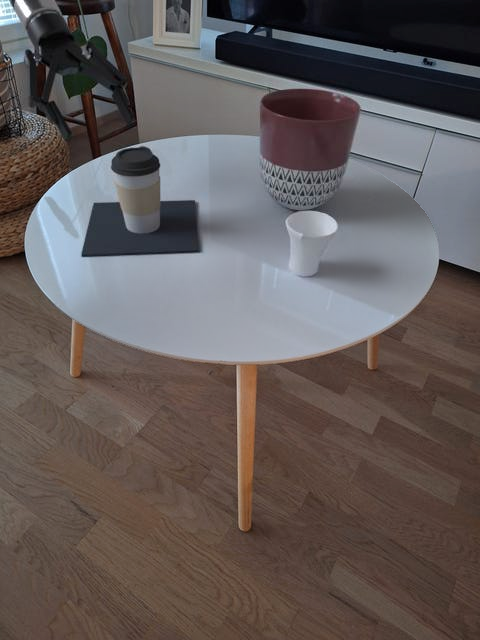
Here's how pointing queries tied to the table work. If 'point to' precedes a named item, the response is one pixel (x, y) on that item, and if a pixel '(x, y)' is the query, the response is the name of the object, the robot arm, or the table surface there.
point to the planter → (305, 144)
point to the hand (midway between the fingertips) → (101, 129)
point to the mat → (115, 239)
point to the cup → (308, 240)
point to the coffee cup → (138, 188)
